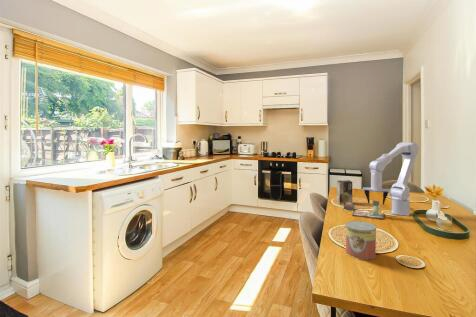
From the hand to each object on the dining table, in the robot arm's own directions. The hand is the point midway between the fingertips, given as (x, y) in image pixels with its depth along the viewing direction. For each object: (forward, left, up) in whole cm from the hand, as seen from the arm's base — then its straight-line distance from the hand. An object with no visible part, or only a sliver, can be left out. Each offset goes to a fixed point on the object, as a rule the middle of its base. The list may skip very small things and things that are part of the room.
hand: (375, 203), depth 157 cm
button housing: (+16, -10, -8) cm, 20 cm away
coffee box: (+21, -25, -8) cm, 34 cm away
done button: (+16, -10, -6) cm, 20 cm away
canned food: (+3, +58, -8) cm, 59 cm away
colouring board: (+4, -1, -8) cm, 9 cm away
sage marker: (0, 0, -7) cm, 7 cm away
